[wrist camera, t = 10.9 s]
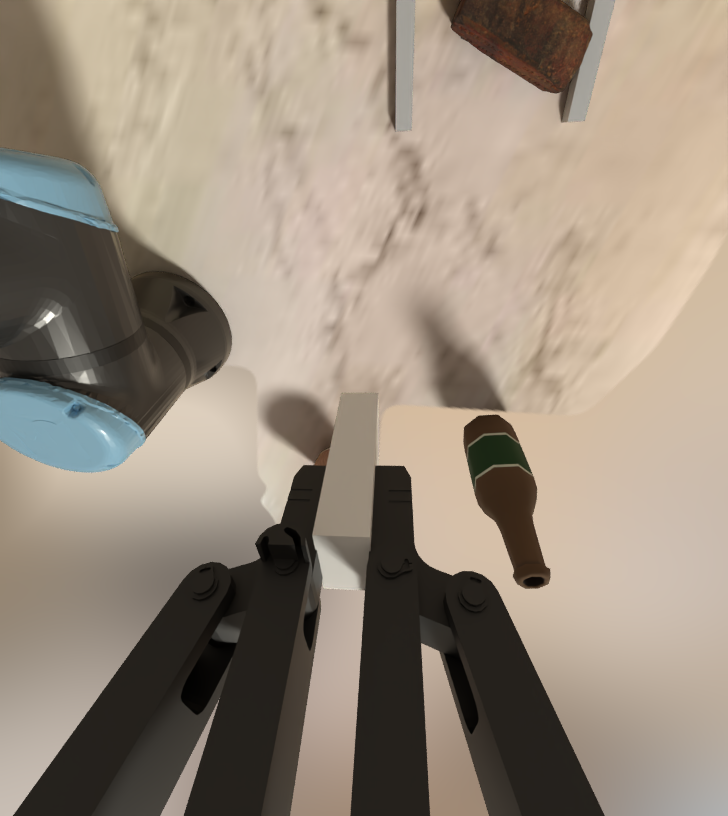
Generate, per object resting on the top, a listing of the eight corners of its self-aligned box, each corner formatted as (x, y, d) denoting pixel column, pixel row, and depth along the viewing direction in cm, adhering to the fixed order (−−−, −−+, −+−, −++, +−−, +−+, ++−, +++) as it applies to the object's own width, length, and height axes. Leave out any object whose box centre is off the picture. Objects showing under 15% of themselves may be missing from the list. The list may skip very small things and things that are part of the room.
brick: (446, 33, 31) (454, 19, 27) (473, -32, 29) (485, -57, 25) (548, 97, 33) (567, 92, 29) (580, 41, 31) (606, 27, 27)
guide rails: (395, 131, 35) (395, 131, 34) (396, -25, 29) (396, -32, 28) (578, 121, 34) (585, 120, 33) (618, -44, 28) (628, -53, 27)
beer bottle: (474, 406, 54) (519, 555, 35) (522, 419, 55) (591, 571, 35) (452, 443, 58) (482, 592, 39) (497, 454, 59) (547, 606, 40)
